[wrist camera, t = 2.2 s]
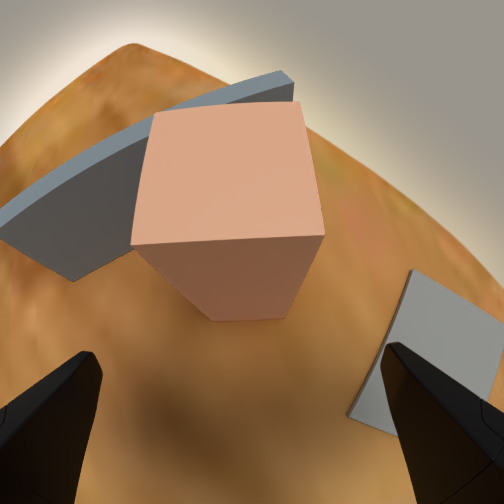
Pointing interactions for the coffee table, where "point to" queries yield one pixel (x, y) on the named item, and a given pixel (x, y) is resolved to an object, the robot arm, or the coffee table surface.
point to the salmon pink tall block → (230, 207)
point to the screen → (104, 191)
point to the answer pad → (435, 345)
